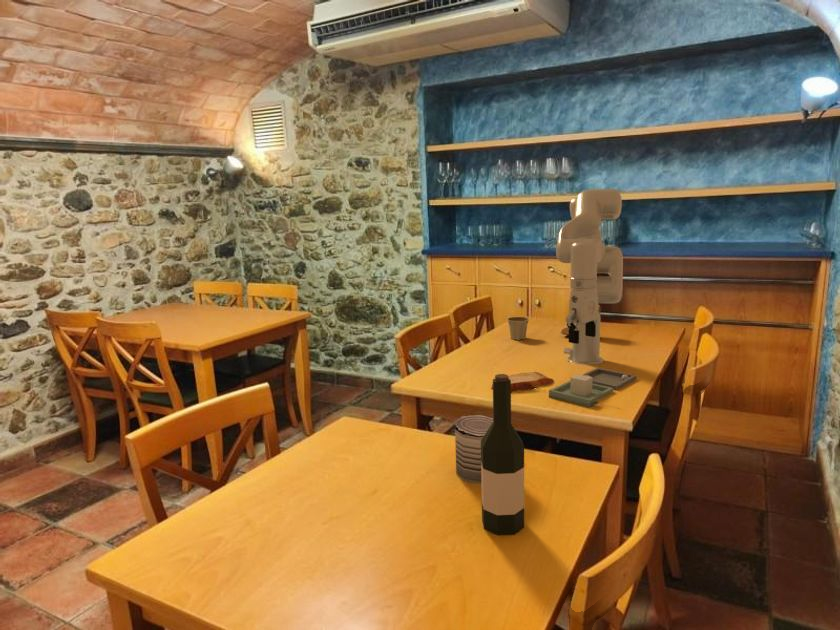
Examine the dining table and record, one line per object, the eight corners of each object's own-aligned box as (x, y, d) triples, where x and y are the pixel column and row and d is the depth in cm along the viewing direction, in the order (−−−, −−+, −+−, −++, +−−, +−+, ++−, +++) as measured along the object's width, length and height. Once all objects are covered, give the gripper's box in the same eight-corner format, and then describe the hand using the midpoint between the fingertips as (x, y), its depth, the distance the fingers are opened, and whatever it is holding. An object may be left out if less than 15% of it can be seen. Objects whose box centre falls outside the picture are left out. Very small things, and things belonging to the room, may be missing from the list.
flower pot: (507, 335, 260) (506, 316, 258) (528, 335, 259) (528, 316, 257) (507, 341, 251) (507, 321, 249) (529, 341, 250) (529, 321, 248)
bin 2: (575, 384, 194) (576, 376, 193) (597, 373, 203) (597, 366, 203) (616, 393, 184) (616, 384, 184) (636, 381, 194) (636, 374, 193)
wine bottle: (495, 540, 110) (493, 385, 104) (473, 518, 117) (470, 373, 111) (533, 529, 113) (533, 378, 107) (509, 508, 120) (509, 366, 114)
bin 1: (548, 397, 183) (548, 390, 182) (572, 385, 192) (572, 379, 192) (590, 407, 173) (590, 400, 173) (613, 394, 183) (613, 388, 182)
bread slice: (487, 391, 191) (487, 380, 190) (505, 375, 206) (505, 365, 205) (542, 399, 183) (542, 387, 182) (556, 381, 198) (557, 370, 197)
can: (467, 457, 144) (466, 410, 142) (511, 465, 139) (511, 417, 136) (447, 477, 134) (445, 428, 132) (494, 487, 129) (494, 436, 126)
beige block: (570, 392, 183) (570, 377, 182) (577, 389, 186) (578, 374, 185) (584, 396, 179) (585, 380, 178) (592, 392, 182) (592, 377, 181)
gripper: (579, 289, 167) (578, 347, 171) (609, 280, 179) (607, 335, 183) (556, 286, 172) (555, 343, 176) (586, 278, 184) (585, 332, 188)
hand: (582, 339), depth 179 cm, fingers open, 9 cm apart
